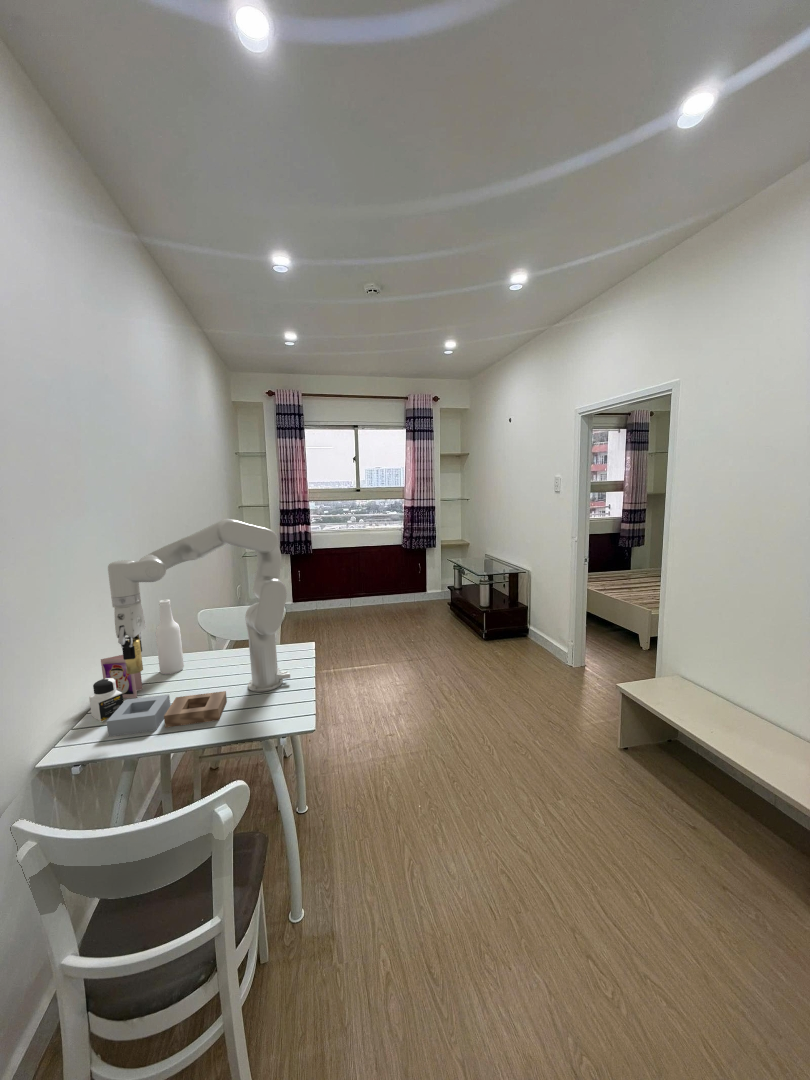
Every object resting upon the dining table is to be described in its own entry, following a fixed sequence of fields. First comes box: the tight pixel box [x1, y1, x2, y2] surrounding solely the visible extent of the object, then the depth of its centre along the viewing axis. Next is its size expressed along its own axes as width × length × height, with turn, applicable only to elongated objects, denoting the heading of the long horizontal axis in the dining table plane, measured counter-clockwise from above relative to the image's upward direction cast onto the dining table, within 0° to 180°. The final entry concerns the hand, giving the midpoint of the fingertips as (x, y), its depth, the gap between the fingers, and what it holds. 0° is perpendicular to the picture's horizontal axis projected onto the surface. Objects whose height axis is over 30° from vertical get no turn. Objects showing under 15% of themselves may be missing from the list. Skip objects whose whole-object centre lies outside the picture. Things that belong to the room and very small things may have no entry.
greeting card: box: [100, 654, 143, 699], centre depth 153 cm, size 11×7×15 cm, turn 90°
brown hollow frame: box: [163, 690, 228, 728], centre depth 139 cm, size 16×12×4 cm
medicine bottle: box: [88, 678, 124, 722], centre depth 140 cm, size 7×7×12 cm
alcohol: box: [155, 598, 185, 675], centre depth 172 cm, size 9×9×30 cm
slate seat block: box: [105, 693, 171, 737], centre depth 135 cm, size 13×13×5 cm
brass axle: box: [125, 639, 144, 674], centre depth 133 cm, size 4×4×10 cm
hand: (133, 655), depth 133 cm, fingers closed on brass axle, 4 cm apart
